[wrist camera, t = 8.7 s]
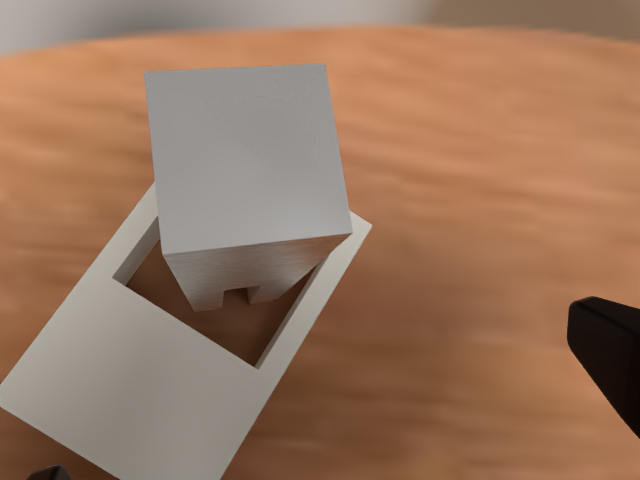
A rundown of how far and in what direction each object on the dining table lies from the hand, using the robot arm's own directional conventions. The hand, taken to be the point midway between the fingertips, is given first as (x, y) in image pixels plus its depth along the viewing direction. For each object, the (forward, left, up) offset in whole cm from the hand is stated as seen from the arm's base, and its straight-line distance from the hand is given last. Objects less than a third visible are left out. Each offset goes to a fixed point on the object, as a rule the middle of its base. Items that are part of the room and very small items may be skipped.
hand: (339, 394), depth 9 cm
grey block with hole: (+1, +3, -11) cm, 12 cm away
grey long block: (+2, +3, -11) cm, 12 cm away
